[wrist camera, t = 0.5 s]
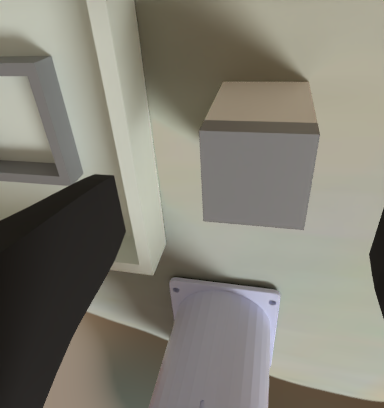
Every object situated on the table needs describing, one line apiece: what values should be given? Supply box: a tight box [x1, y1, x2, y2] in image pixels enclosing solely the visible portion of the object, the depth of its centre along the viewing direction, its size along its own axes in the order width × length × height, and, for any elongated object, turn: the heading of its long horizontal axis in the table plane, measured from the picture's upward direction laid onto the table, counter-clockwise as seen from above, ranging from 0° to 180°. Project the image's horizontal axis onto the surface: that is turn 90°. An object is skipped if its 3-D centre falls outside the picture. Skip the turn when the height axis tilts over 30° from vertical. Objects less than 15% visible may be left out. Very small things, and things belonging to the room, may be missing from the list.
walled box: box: [0, 0, 166, 275], centre depth 19 cm, size 18×16×3 cm
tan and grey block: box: [199, 82, 320, 230], centre depth 15 cm, size 4×4×6 cm
